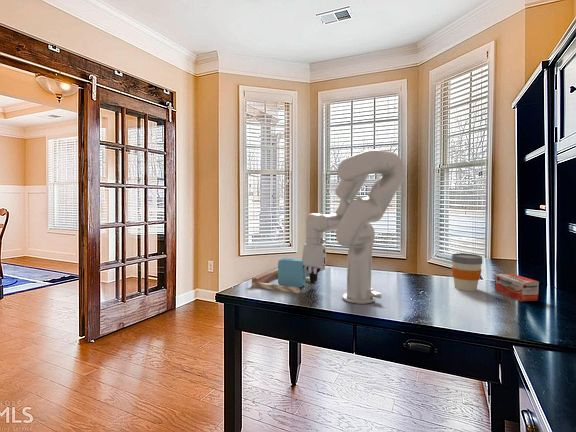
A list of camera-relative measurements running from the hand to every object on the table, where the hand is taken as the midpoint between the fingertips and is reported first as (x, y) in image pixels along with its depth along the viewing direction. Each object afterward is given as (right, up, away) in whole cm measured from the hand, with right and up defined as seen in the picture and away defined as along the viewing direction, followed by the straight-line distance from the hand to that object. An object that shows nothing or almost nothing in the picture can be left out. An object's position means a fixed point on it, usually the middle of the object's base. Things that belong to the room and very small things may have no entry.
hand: (313, 282), depth 160 cm
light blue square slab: (-10, -3, +5) cm, 11 cm away
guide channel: (-13, -2, +6) cm, 14 cm away
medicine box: (+85, -5, -8) cm, 86 cm away
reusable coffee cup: (+69, -4, +2) cm, 69 cm away
